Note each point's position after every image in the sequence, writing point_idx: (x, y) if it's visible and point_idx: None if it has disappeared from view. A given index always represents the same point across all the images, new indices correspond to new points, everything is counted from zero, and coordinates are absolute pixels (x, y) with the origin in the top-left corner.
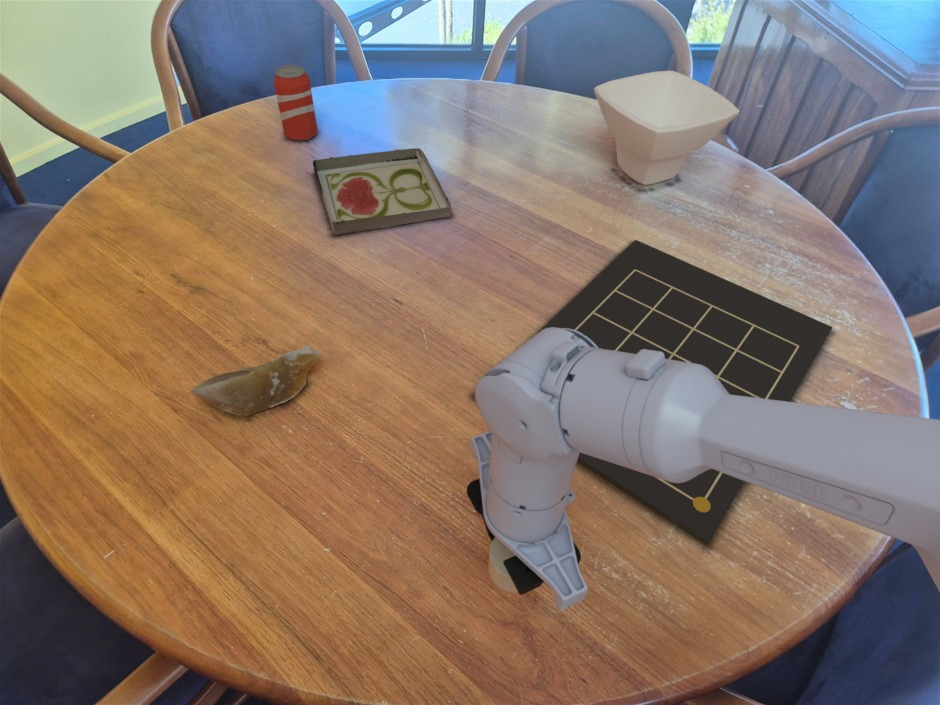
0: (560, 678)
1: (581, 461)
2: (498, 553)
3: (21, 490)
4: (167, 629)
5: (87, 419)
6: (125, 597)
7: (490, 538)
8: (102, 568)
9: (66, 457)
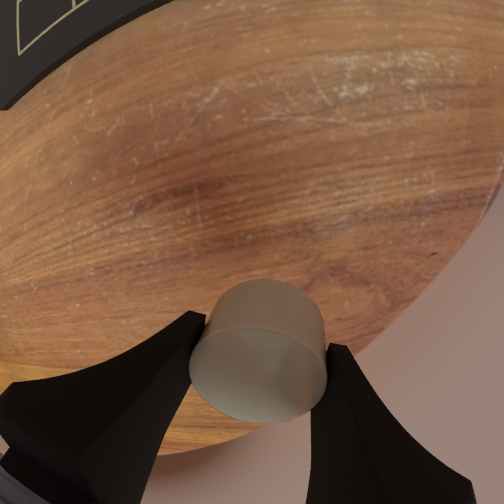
0: (410, 276)
1: (155, 3)
2: (233, 406)
3: None
4: None
5: (2, 391)
6: None
7: (190, 382)
8: None
9: None
